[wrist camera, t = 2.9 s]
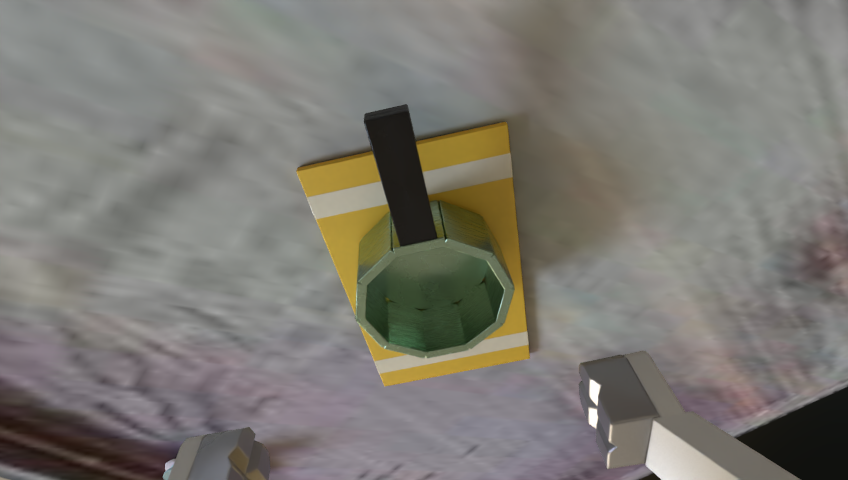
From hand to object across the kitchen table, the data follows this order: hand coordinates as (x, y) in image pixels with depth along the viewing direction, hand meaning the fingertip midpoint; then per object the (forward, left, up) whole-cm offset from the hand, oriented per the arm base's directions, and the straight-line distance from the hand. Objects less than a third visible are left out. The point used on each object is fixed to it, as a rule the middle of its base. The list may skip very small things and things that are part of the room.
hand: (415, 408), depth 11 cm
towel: (+11, 0, -17) cm, 20 cm away
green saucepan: (+5, 0, -17) cm, 17 cm away
